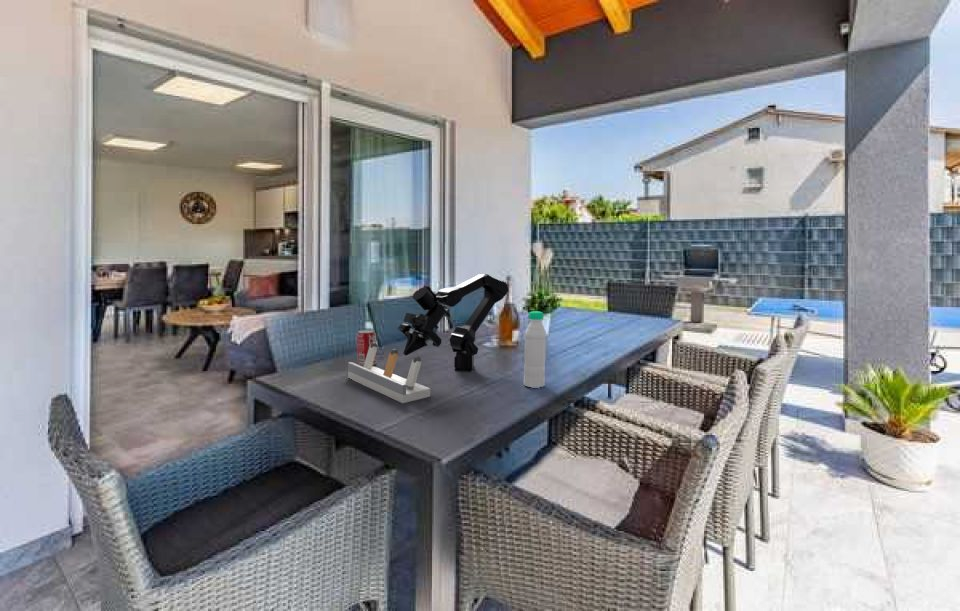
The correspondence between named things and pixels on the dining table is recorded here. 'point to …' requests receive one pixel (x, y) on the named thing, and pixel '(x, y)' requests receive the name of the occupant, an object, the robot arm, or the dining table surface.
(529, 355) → the water bottle
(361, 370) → the switch panel
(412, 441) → the dining table surface
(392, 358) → the lever orange
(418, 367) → the cream lever
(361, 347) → the soda can
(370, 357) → the cream lever
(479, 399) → the dining table surface
